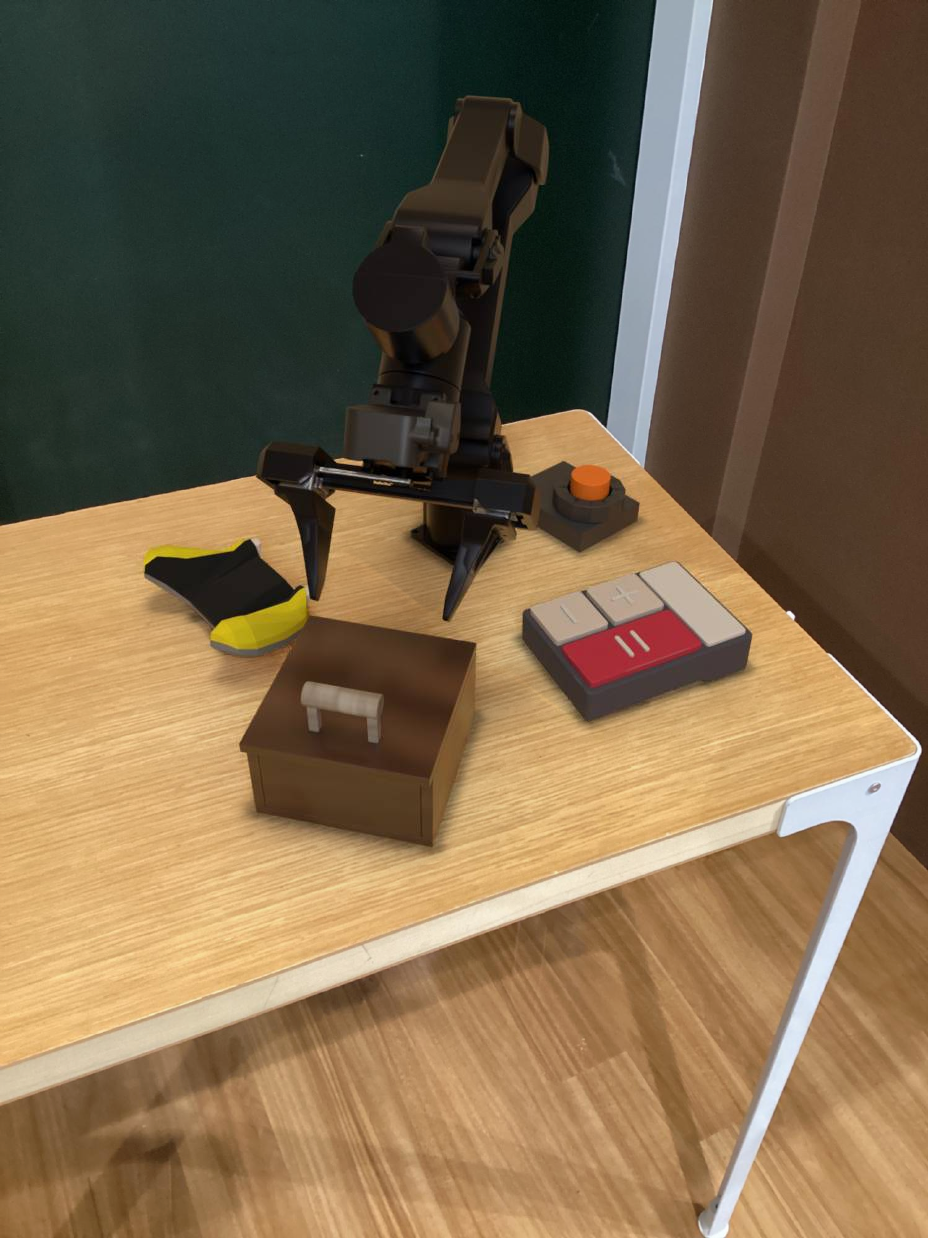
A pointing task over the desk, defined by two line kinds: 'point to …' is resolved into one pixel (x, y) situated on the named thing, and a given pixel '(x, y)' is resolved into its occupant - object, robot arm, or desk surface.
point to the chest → (365, 789)
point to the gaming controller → (232, 595)
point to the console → (581, 509)
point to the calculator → (635, 639)
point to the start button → (590, 482)
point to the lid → (363, 701)
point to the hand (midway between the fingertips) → (379, 610)
